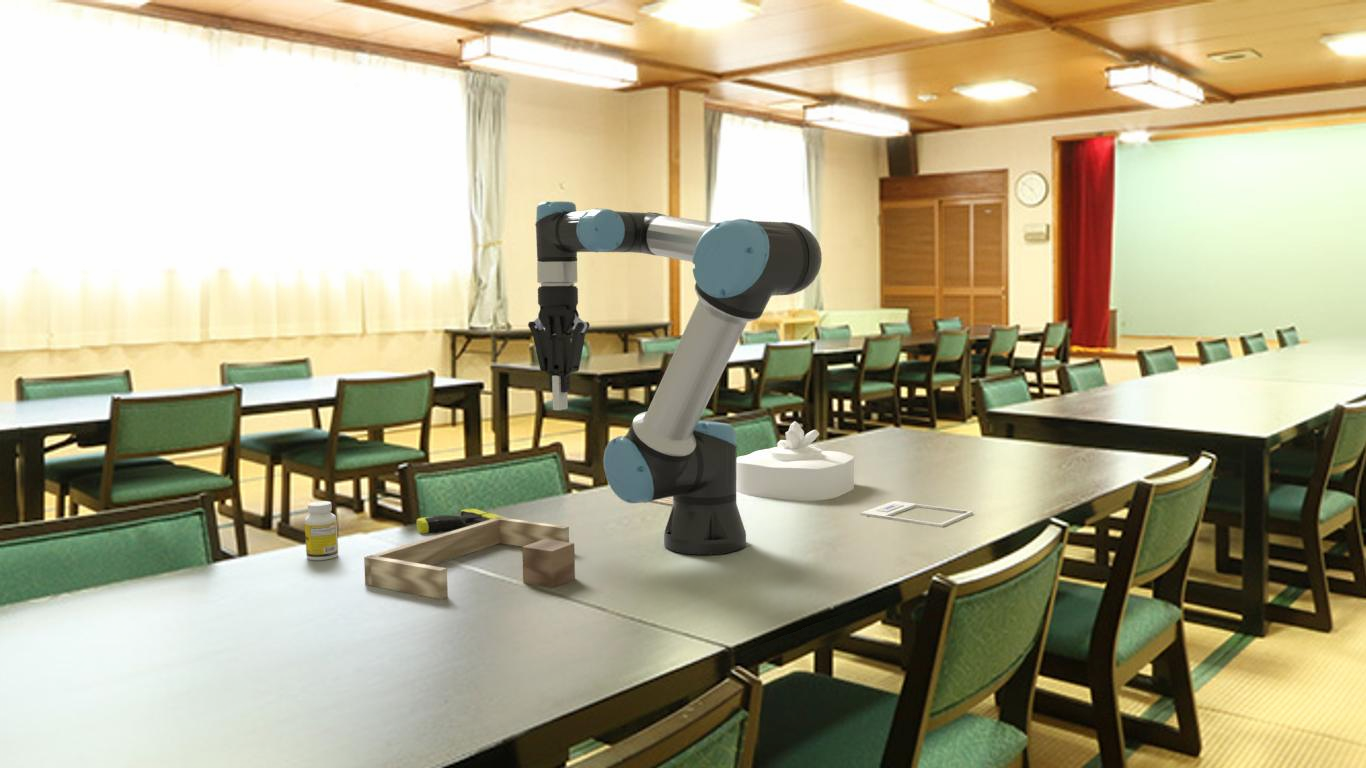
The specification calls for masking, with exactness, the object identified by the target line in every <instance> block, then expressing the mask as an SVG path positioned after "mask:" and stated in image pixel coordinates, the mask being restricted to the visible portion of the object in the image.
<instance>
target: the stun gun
mask: <svg viewBox="0 0 1366 768" xmlns="http://www.w3.org/2000/svg"><path fill="white" fill-rule="evenodd" d="M497 517H502V518H506V517H505V516H502V515H500V514H499V515H498V514H497V513H489V512H486V511H483V510H481V509H478V508H465V509H462V510H461V511H460V515H452V514H450V515H446V514H444V515H433V516H427V517H419V518H417V519H416V525H415V526H416V530H417V532H418V533H419V534H420V535H425V534H435V533H440V532H450V531H453V530H457V529H460V528H463V527H467V526H470V525H473V524H477V523H480V522H483V521H487V520H490V519H493V518H497Z"/></svg>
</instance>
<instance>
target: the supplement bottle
mask: <svg viewBox="0 0 1366 768" xmlns="http://www.w3.org/2000/svg"><path fill="white" fill-rule="evenodd" d="M332 507H333V506H332V502H331V501H330V500H329V501H327V500H321V501H320V500H319V501H318V500H317V501H313V502H310V503H308V504H307V510H308V511H307V512H308V514H309V515H307V516H306V517H305V519H304V531H305V532H304V533H305V536H304V537H305V551H306V552H305V553H306V558H307V559H308V560H309V561H326V560H331V559H335V558H336V557H338V556H339V541H338V538H339V537H338V523H337V517H336V514H334V513H332V512H331V511H332V510H333V508H332Z"/></svg>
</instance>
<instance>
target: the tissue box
mask: <svg viewBox="0 0 1366 768" xmlns="http://www.w3.org/2000/svg"><path fill="white" fill-rule="evenodd" d="M784 434H785V439H780V440H779V441H778V442H777V443H776V445H777V446H774V447H770V448H765V449H764V448H763V449H760V450H755V451H753V452H751V453H748V454H745V455H741V456H737V464H736V493H739V494H742V495H745V496H753V497H760V498H770V499H777V500H778V499H780V500H788V501H789V500H790V501H824V500H831V499H835V498H838V497H840V496H843V495H844V494H846V493H848V492H851V491H853V490H854V489H855V456H854V455H851V454H848V453H845V452H842V451H837V450H836V451H833V450H822V449H821V448H819V447H815V446H809V445H811V444H812V442H814V441H815V440H816V439H817V438H818V437H819V435H820V432H819V430H817V429H813V430H811V431H809V432H807V433H805V431H804V429H802V427H801V425H800V424H799V422H797V421H796V420H795V421H792V422H791V423H790V425H789V428H788V431H786V432H785V433H784Z"/></svg>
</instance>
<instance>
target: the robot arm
mask: <svg viewBox="0 0 1366 768" xmlns="http://www.w3.org/2000/svg"><path fill="white" fill-rule="evenodd" d="M535 215H536V219H535V220H536V221H535V224H534V225H535V231H536V233H535V235H536V238H535V239H536V240H535V241H536V258H537V262H536V264H537V265H536V266H537V268H536V273H537V275H536V276H537V281H536V283H538V284H540V286H538V288H537V304H538V306H539V312H538V316H537V318H536V319H535V320H533V321H529V322H528V324H527V326H528V328H529V330H530V332H531V334H532V337H533V342H534V347H535V350H536V351H535V352H536V355H537V360H538V366H539V369H540V371H541V372H545V373H546V374H548V376H549V377H548V378H549V380H548V381H549V391H550V393H552V411H563V410H568V407H569V406H568V399H569V398H568V393H570V391H571V375H572V374H573V373H577V372H579V370H580V365H581V360H582V356H583V349H584V345H585V339H586V334H587V331H588V330H589V328H590V326H591V325H590V323H589V321H583V320H582V319H581V318H580V316H579V315H580V314H579V312H578V310H577V307H578V305H579V288H578V287H577V286H576V285H575V284H577V282H578V253H634V254H635V253H637V254H638V253H639V254H644V255H645V254H646V255H651V256H659V257H664V258H668V259H669V258H670V259H675V260H680V261H685V262H692V264H694V268H692V274H693V278H694V280H695V284H694V291H695V293H696V296H697V297H698V300H697V302H696V305H695V307H694V309H693V311H692V313H691V316H690V318H689V320H688V322H687V324H686V326H685V329H684V330H683V333H682V335H681V337H680V339H679V342H678V343H677V346H676V348H675V350H674V353H673V354H672V357H671V359H670V361H669V363H668V366H667V368H666V369H665V372H664V374H663V376H662V378H661V381H660V383H659V385H658V387H657V389H656V391H655V394H654V396H653V398H652V400H651V402H650V404H649V407H648V409H647V411H644V412H643V411H642V412H640V413H638V414H637V415H635V417H634V418H633V420H632V422H631V424H630V427H629V429H628V431H627V433H626V435H624V436H621V435H620V436H617V437H615V438H613V439H611V440H610V441H609V442H608V443H607V444H606V447H605V450H604V453H603V469H604V472H605V477H606V481H607V483H608V485H609V486H610V488H611V490H612V492H613V493H614V495H616V496H617V497H618V498H619V499H620V500H622V501H623V502H626V503H628V504H639V503H640V504H641V503H644V504H647V503H651V502H650V501H653V500H658V499H663V498H667V497H672V496H673V506H671V510H670V514H669V517H668V520H667V523H666V526H665V530H664V533H663V546H664V547H665V548H666V549H668V550H669V551H673V552H674V553H675V552H676V553H681V554H689V555H701V556H702V555H703V556H704V555H721V554H728V553H733V552H737V551H740V550H742V549H744V548H745V547H746V546H747V531H746V529H745V526H744V523H743V520H742V517H741V513H740V511H739V508H738V504H737V491H736V464H737V457H738V455H737V453H738V452H737V451H738V450H737V449H738V444H737V436H736V430H735V428H734V426H732V425H731V424H729V423H725V422H718V421H708V420H701V417H702V415H703V413H704V411H705V409H706V407H707V405H708V403H709V401H710V399H711V397H712V395H713V393H714V390H715V389H716V387H717V386H718V385H717V384H718V383H719V380H720V379H721V377H722V374H723V372H724V371H725V368H726V367H727V365H728V363H729V360H730V358H731V356H732V354H733V352H734V350H735V348H736V346H737V345H738V342H739V340H740V339H741V336H742V334H743V332H744V330H745V328H746V326H747V324H748V323H749V322H753V321H756V320H758V319H759V320H760V318H761V316H762V315H763V313H764V311H765V309H766V308H767V305H768V303H769V302H770V299H771V298H772V297H774V296H789V295H790V296H791V295H794V294H797V293H799V292H802V291H804V290H805V289H806V288H808V287H809V286H811V285H812V283H813V282H814V281H815V280H816V278H817V276H818V274H819V273H820V270H821V268H822V267H821V266H822V260H823V258H822V255H823V254H822V249H821V245H820V243H819V241H818V240H817V238H816V236H815V235H814V234H813V233H812V232H811V231H810V230H808V228H806V227H804V226H802V225H801V224H797V223H793V222H787V221H785V222H784V221H781V222H780V221H763V220H762V221H760V220H759V221H757V220H752V219H746V218H736V219H733V220H723V221H719V222H712V221H707V220H706V221H704V220H698V219H697V220H696V219H690V218H685V217H676V216H670V215H666V214H662V213H660V212H659V213H658V212H651V211H650V212H638V211H637V212H634V211H632V212H631V211H630V212H629V211H617V210H616V211H615V210H612V209H608V208H598V207H597V208H592V209H586V210H585V209H584V210H579V211H577V205H576V203H574V202H573V201H562V200H561V201H559V200H557V201H556V200H555V201H554V200H553V201H543V202H540V203H538V205H537V206H536V214H535Z"/></svg>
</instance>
